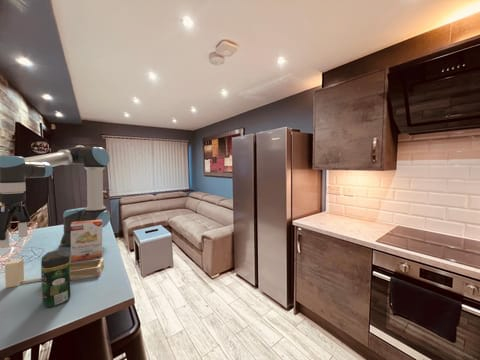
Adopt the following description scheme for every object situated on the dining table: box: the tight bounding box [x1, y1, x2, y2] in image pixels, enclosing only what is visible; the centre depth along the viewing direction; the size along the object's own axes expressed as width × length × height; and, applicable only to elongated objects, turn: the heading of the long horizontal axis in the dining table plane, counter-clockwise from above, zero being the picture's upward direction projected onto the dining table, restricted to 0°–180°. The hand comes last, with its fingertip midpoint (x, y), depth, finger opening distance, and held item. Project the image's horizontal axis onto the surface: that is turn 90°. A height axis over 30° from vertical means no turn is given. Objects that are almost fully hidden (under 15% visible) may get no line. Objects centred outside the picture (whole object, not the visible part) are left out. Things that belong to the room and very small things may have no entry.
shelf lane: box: [70, 258, 105, 281], centre depth 95 cm, size 10×15×4 cm
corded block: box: [4, 258, 42, 289], centre depth 88 cm, size 6×18×10 cm, turn 116°
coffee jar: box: [40, 249, 72, 308], centre depth 75 cm, size 10×8×19 cm
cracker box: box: [70, 219, 103, 263], centre depth 112 cm, size 14×6×21 cm, turn 124°
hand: (14, 241), depth 85 cm, fingers open, 13 cm apart
